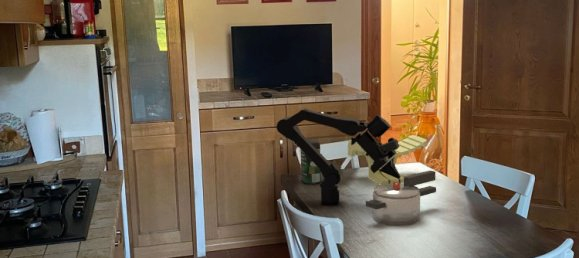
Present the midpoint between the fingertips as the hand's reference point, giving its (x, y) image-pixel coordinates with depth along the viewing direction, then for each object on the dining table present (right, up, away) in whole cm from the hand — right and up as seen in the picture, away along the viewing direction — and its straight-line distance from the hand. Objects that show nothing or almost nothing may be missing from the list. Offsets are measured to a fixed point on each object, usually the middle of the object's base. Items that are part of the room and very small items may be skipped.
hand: (399, 177), depth 215 cm
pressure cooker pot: (0, -13, -8) cm, 15 cm away
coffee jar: (-31, -5, +42) cm, 52 cm away
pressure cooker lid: (+1, -3, -9) cm, 9 cm away
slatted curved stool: (+2, -4, +43) cm, 43 cm away
